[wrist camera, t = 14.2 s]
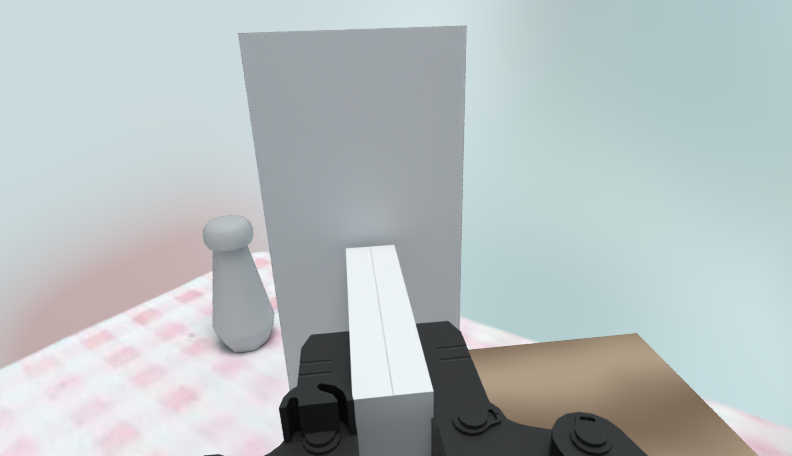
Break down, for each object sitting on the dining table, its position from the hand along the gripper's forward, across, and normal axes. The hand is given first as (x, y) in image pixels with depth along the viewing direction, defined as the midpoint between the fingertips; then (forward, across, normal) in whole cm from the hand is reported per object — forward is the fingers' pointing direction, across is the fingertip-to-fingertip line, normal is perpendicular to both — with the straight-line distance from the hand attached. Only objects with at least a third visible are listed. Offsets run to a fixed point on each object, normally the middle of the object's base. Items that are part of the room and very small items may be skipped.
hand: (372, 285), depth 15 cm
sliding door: (+13, 0, -21) cm, 24 cm away
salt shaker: (+29, -12, -21) cm, 37 cm away
